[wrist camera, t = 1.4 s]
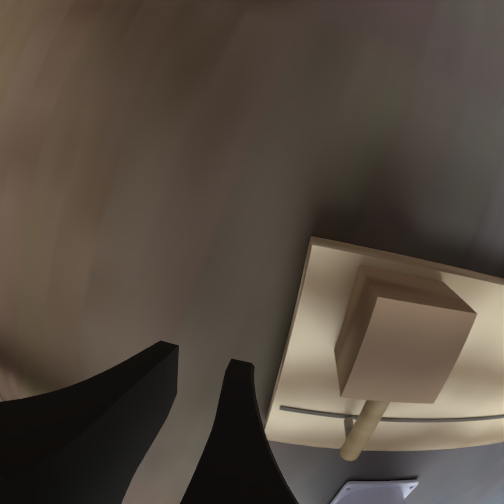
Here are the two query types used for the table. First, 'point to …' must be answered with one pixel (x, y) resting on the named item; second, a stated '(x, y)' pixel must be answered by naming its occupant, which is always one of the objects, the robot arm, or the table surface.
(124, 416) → the robot arm
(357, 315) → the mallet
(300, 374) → the board
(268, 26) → the table surface
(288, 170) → the table surface
